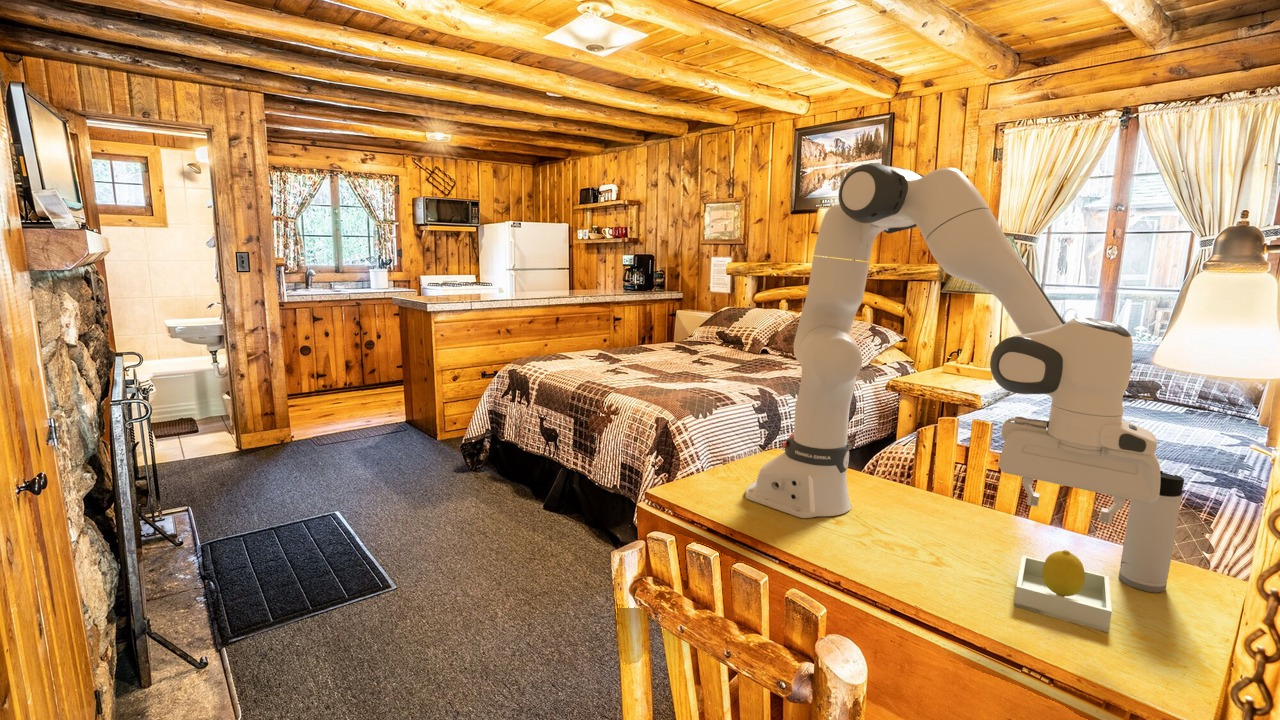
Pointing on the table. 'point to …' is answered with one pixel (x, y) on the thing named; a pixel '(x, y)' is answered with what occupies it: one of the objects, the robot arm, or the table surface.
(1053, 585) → the lemon
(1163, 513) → the travel mug
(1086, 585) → the bin
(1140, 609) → the table surface
